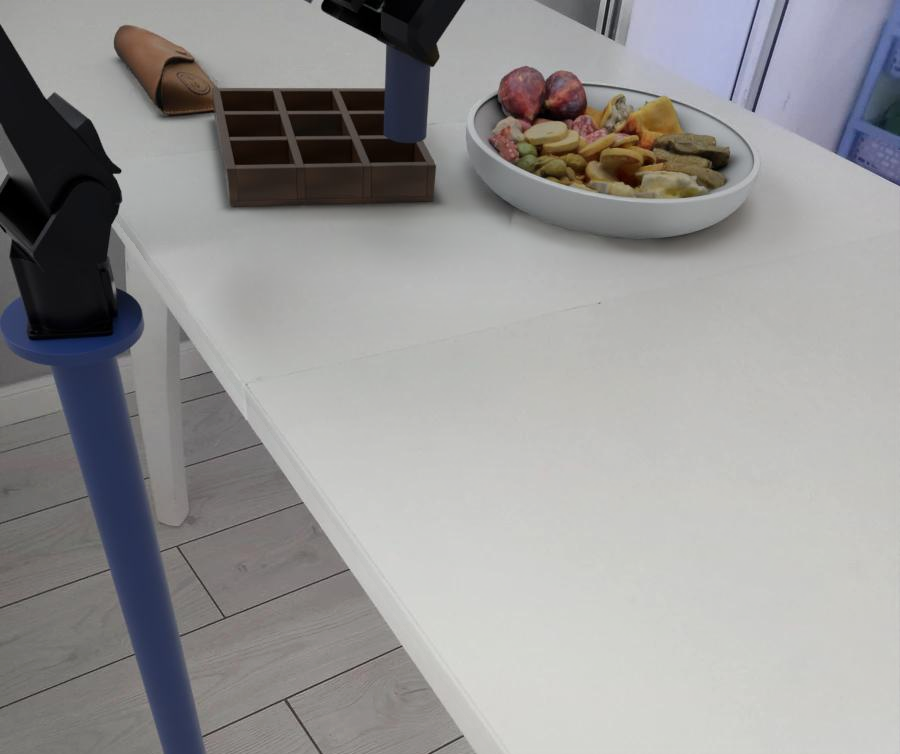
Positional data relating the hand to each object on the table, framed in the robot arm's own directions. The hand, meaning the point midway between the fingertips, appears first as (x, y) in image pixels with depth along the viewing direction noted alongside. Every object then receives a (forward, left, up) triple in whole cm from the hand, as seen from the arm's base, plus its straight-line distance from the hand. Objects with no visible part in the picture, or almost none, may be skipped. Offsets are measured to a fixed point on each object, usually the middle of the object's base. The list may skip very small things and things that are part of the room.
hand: (420, 54), depth 79 cm
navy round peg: (-1, -1, -7) cm, 7 cm away
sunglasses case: (-22, +29, -13) cm, 39 cm away
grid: (-8, +8, -12) cm, 17 cm away
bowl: (+21, +1, -13) cm, 25 cm away
